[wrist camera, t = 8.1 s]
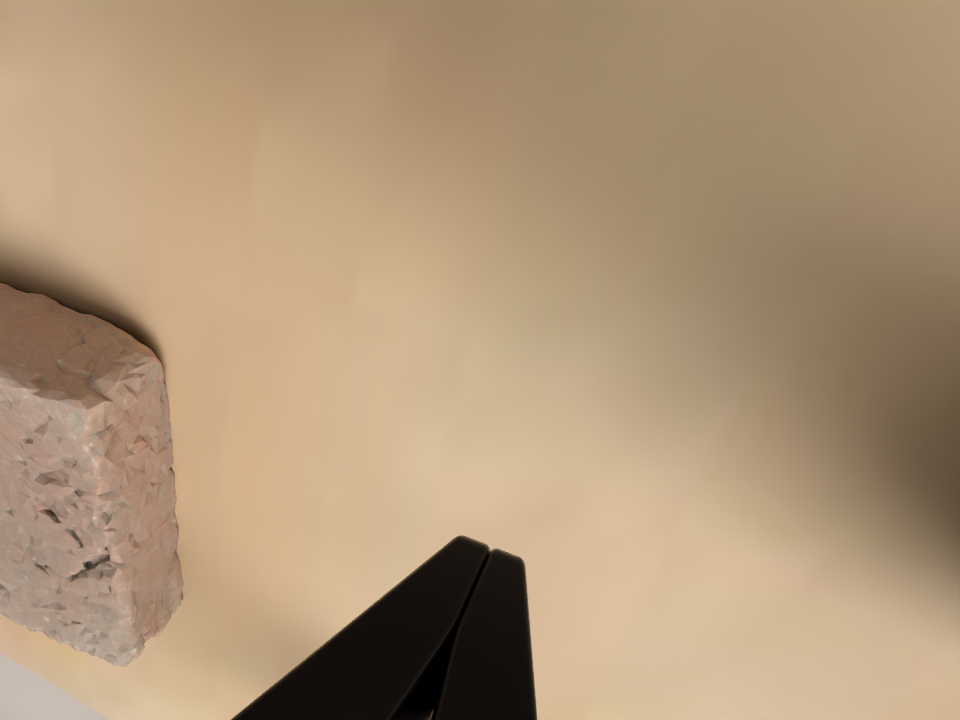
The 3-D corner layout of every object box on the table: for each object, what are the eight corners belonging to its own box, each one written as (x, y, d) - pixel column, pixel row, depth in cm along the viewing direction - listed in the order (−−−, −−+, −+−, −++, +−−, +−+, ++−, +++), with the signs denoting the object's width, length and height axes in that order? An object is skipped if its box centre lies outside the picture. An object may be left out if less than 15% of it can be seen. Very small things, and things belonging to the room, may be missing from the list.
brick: (192, 607, 36) (125, 690, 32) (49, 543, 37) (-32, 616, 33) (178, 332, 26) (80, 403, 22) (-13, 259, 28) (-137, 315, 24)
